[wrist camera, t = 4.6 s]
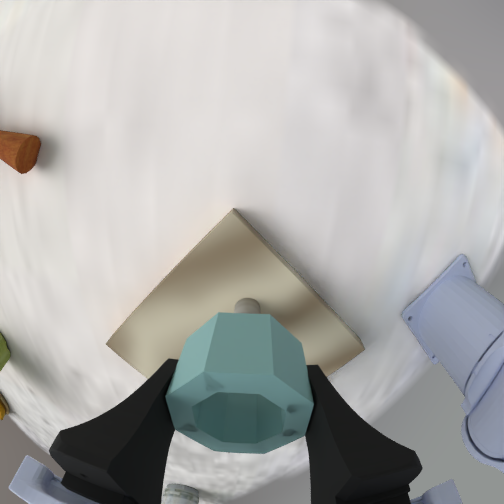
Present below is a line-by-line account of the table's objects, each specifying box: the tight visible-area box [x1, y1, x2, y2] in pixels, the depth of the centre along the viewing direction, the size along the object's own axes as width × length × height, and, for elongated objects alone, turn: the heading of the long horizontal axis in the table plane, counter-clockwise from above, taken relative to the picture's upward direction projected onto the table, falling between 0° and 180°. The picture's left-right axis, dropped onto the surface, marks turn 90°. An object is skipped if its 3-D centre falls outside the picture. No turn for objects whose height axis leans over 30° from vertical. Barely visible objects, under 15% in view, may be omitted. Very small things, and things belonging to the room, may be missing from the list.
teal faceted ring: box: [165, 312, 314, 454], centre depth 11 cm, size 6×6×4 cm
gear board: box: [106, 208, 365, 379], centre depth 19 cm, size 15×16×6 cm
